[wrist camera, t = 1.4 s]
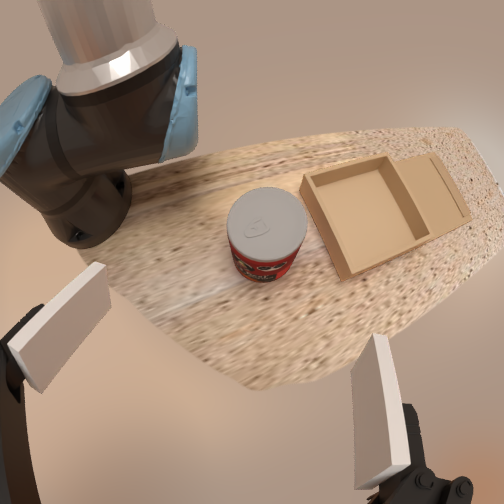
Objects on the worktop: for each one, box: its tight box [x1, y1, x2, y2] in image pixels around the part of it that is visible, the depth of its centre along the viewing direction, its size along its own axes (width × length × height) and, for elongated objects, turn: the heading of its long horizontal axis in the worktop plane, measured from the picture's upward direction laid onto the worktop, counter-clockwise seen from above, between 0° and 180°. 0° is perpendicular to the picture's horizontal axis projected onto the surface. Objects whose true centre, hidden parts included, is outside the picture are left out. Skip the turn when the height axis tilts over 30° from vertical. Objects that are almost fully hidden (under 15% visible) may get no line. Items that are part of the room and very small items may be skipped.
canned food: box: [227, 187, 308, 282], centre depth 33 cm, size 8×8×11 cm
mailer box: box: [299, 152, 473, 282], centre depth 39 cm, size 28×14×4 cm, turn 110°
